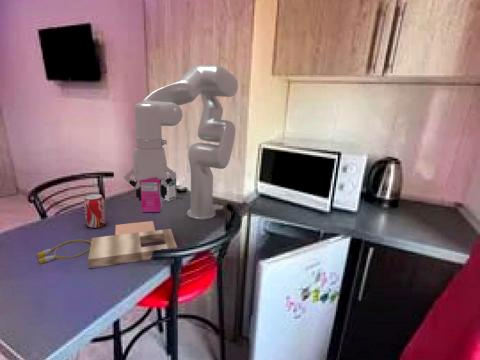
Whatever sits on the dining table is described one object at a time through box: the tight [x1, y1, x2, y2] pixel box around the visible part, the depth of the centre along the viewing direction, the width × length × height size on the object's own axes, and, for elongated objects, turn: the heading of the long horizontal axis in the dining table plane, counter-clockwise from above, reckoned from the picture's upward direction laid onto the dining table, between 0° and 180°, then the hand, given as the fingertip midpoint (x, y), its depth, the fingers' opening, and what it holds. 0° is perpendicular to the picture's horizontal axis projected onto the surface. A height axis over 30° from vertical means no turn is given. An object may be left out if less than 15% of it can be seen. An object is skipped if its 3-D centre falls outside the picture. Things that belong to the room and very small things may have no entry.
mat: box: [114, 220, 156, 235], centre depth 112 cm, size 14×12×1 cm
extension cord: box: [36, 239, 91, 265], centre depth 96 cm, size 12×16×2 cm
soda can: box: [83, 193, 107, 229], centre depth 113 cm, size 7×7×12 cm
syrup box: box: [161, 169, 178, 202], centre depth 145 cm, size 6×6×14 cm
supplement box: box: [140, 179, 164, 215], centre depth 95 cm, size 6×6×12 cm
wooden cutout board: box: [87, 228, 178, 269], centre depth 98 cm, size 26×14×3 cm, turn 111°
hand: (151, 198), depth 96 cm, fingers closed on supplement box, 6 cm apart
